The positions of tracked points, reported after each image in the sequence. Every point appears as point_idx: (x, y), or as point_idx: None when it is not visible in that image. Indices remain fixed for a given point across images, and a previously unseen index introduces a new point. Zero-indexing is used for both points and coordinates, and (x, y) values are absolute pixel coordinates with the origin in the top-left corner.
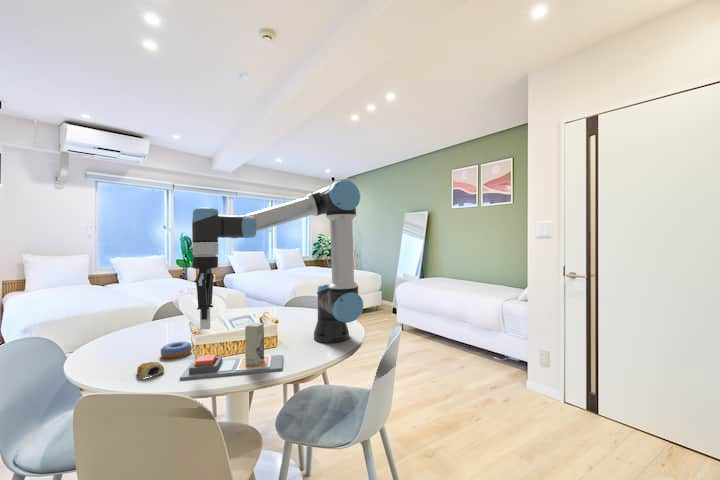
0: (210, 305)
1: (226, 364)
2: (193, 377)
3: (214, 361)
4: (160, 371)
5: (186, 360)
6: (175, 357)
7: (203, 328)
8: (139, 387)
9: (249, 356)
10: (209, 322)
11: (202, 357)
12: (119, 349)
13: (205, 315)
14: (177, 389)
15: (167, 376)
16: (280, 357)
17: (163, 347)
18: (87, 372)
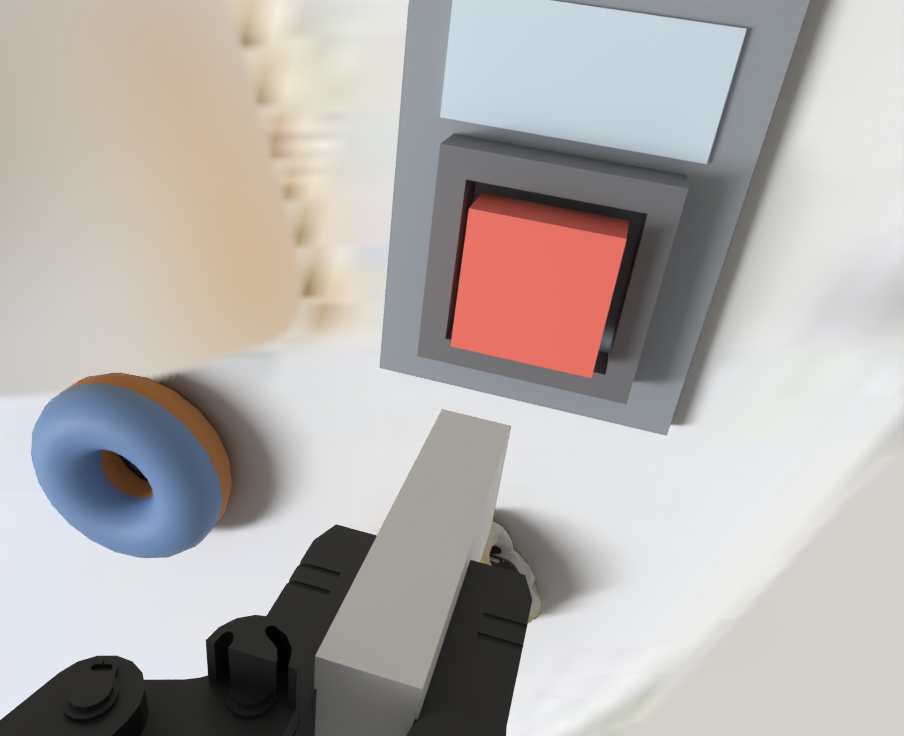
0: (262, 697)
1: (555, 89)
2: (693, 346)
3: (554, 211)
4: (496, 536)
5: (283, 391)
6: (228, 457)
7: (496, 498)
8: (661, 607)
9: None
10: (474, 480)
11: (506, 326)
12: (39, 679)
13: (520, 648)
14: (841, 433)
15: (551, 488)
16: None
17: (147, 555)
18: None
